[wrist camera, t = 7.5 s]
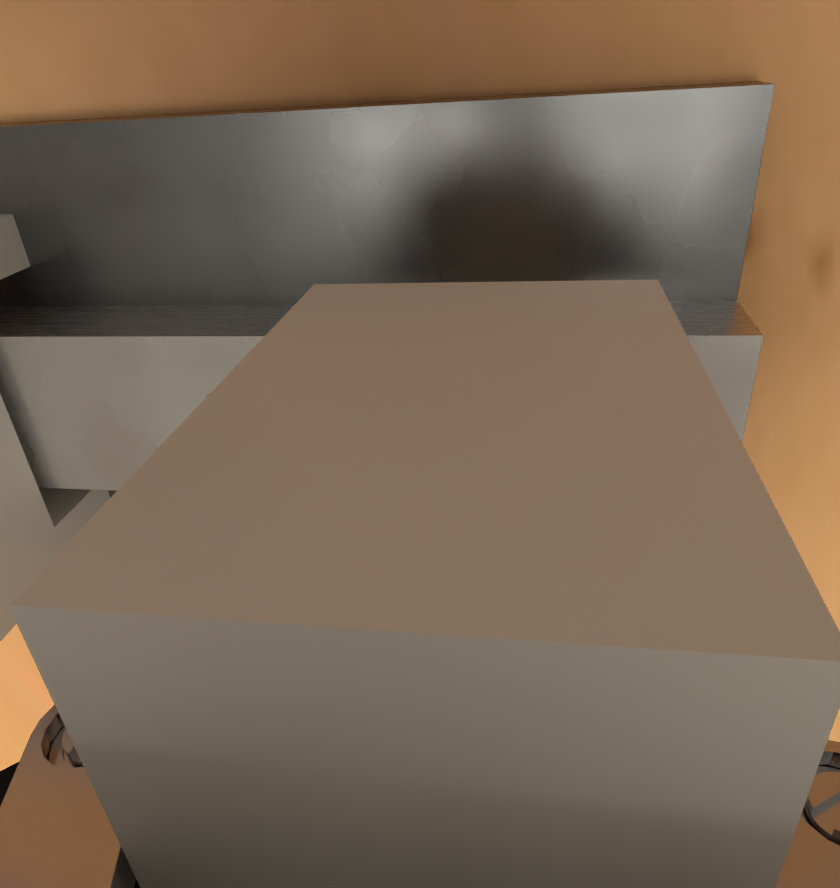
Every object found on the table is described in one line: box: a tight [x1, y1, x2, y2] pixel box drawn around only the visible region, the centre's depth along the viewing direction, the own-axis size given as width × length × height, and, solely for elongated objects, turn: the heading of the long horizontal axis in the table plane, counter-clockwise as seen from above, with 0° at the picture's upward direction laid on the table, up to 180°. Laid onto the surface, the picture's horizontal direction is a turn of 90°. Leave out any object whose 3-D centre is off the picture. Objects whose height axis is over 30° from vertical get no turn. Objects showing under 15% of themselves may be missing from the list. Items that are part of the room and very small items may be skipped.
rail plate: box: [0, 81, 775, 498], centre depth 17 cm, size 12×22×3 cm, turn 93°
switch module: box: [9, 280, 840, 888], centre depth 9 cm, size 9×5×8 cm, turn 3°
